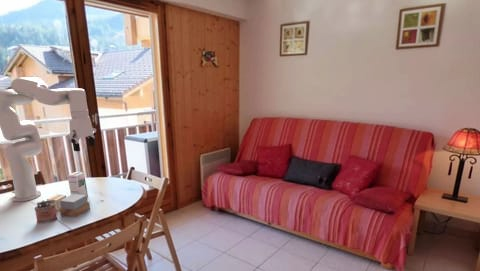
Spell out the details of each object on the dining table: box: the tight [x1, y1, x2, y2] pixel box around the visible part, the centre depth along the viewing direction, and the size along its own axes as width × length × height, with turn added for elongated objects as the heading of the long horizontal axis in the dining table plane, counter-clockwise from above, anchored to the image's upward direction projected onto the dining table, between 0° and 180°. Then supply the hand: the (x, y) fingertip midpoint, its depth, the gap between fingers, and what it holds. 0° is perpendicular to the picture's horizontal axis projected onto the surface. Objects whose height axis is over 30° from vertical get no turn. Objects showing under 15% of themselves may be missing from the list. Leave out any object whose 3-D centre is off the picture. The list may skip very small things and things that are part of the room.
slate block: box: [60, 194, 89, 210], centre depth 138 cm, size 8×8×4 cm
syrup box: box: [67, 171, 89, 198], centre depth 154 cm, size 6×6×14 cm
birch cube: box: [46, 193, 67, 212], centre depth 144 cm, size 6×6×6 cm
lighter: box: [34, 199, 58, 225], centre depth 131 cm, size 8×3×10 cm, turn 114°
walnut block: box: [59, 201, 91, 219], centre depth 139 cm, size 9×9×4 cm
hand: (84, 148), depth 141 cm, fingers open, 9 cm apart
